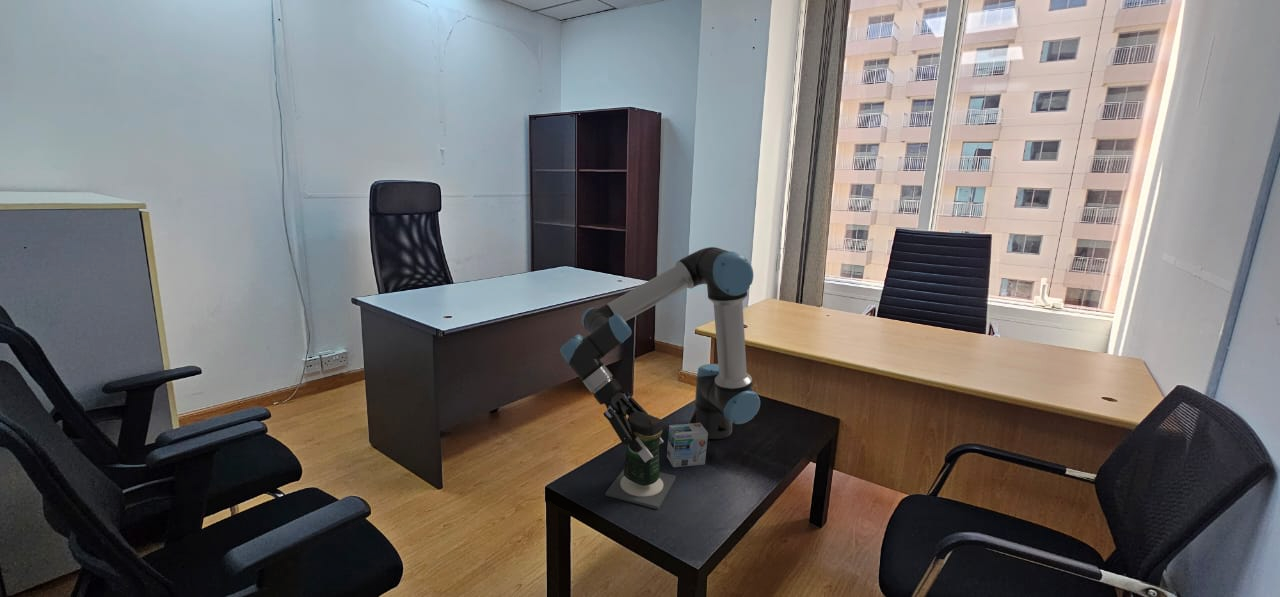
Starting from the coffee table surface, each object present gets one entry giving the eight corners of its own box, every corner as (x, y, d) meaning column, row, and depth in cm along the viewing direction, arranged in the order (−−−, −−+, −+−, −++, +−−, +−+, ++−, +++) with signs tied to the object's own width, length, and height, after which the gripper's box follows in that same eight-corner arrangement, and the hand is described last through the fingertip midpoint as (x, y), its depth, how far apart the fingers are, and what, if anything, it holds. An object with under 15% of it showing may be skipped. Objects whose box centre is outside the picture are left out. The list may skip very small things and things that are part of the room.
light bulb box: (672, 468, 158) (675, 435, 155) (665, 456, 164) (668, 424, 162) (706, 464, 161) (709, 432, 158) (698, 453, 167) (700, 422, 165)
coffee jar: (663, 478, 147) (668, 416, 143) (646, 490, 141) (650, 426, 137) (636, 465, 153) (640, 405, 149) (618, 476, 147) (621, 414, 143)
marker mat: (627, 466, 157) (627, 463, 157) (675, 478, 152) (675, 475, 152) (605, 495, 143) (605, 492, 142) (658, 509, 138) (658, 506, 137)
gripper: (609, 380, 157) (657, 441, 155) (576, 407, 137) (630, 477, 135) (626, 366, 154) (675, 428, 152) (595, 391, 134) (651, 463, 133)
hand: (654, 451), depth 144 cm, fingers closed on coffee jar, 8 cm apart
